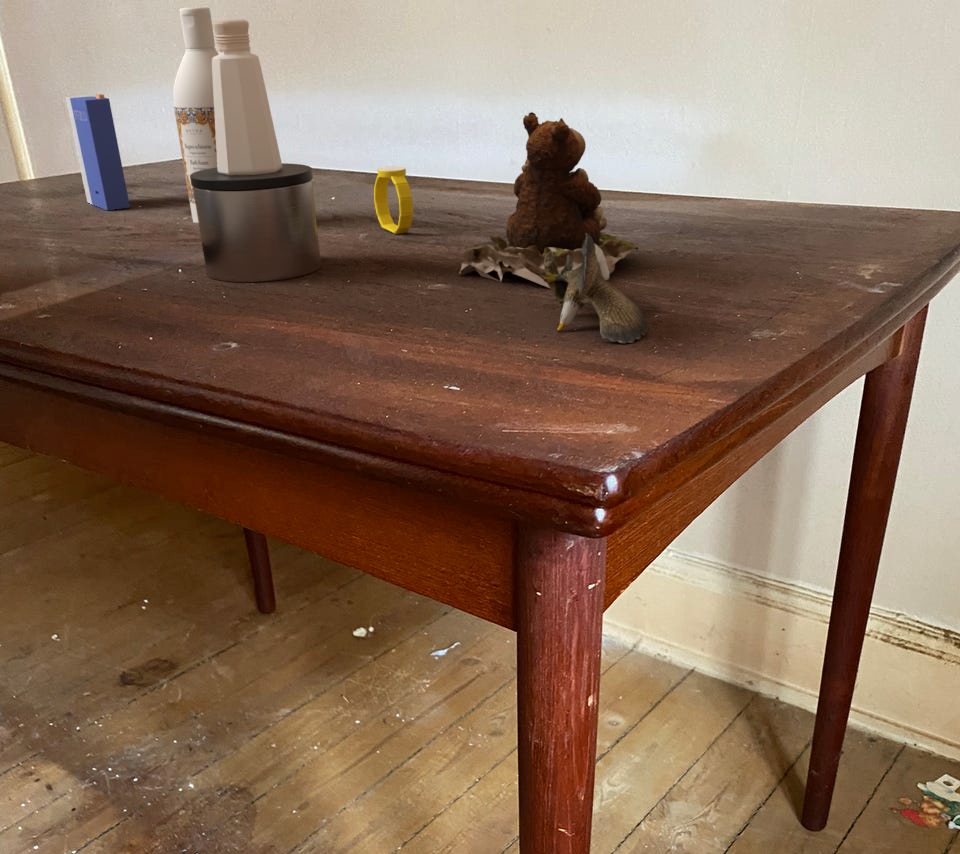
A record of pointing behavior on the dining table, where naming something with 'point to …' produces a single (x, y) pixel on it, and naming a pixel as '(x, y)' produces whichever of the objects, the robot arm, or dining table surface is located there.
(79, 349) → the dining table surface
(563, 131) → the bear figurine
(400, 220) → the watch
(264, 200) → the canister
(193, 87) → the bath foam
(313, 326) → the dining table surface
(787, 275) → the dining table surface
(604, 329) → the eagle figurine
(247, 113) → the pepper shaker
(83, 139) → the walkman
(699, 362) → the dining table surface
